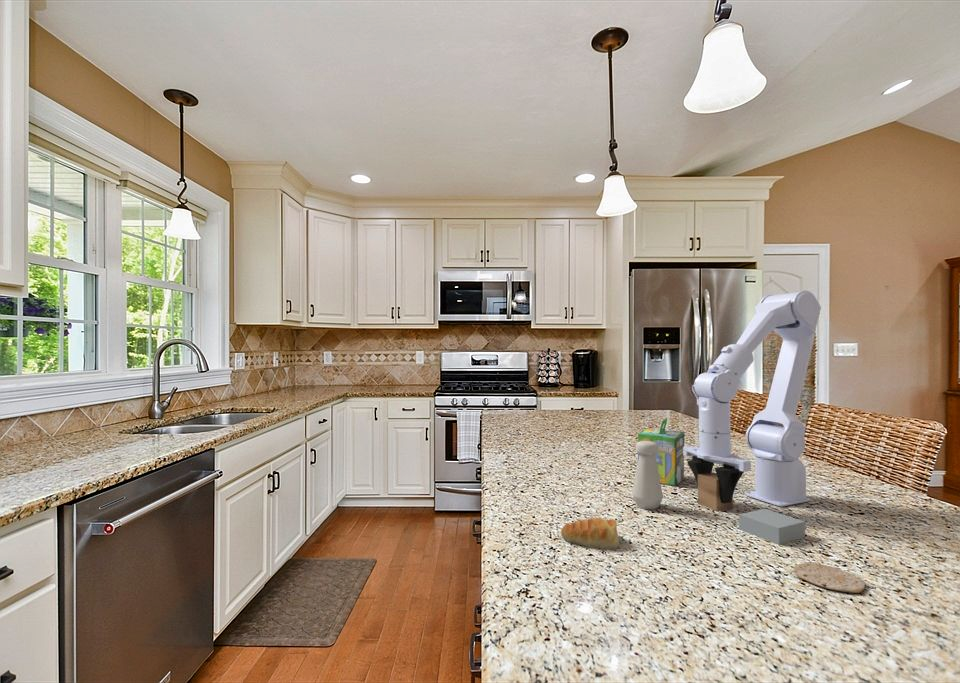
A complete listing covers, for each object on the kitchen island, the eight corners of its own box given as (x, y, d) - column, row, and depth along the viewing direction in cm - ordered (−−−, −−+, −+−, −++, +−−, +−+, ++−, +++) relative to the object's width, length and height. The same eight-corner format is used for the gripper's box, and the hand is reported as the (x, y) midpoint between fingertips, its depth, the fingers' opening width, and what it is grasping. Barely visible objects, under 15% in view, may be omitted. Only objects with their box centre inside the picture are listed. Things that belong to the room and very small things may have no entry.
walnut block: (713, 500, 97) (713, 472, 97) (732, 507, 93) (732, 477, 93) (697, 503, 95) (697, 474, 95) (716, 510, 91) (716, 480, 91)
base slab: (764, 525, 85) (764, 508, 85) (805, 539, 78) (804, 521, 78) (739, 531, 82) (738, 514, 82) (778, 546, 75) (778, 528, 75)
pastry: (561, 547, 75) (561, 523, 75) (561, 531, 81) (560, 509, 82) (621, 551, 73) (621, 527, 73) (616, 535, 80) (616, 513, 80)
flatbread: (782, 573, 66) (782, 566, 66) (814, 563, 69) (814, 557, 69) (846, 601, 59) (846, 593, 59) (879, 589, 62) (879, 581, 62)
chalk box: (647, 472, 120) (647, 414, 120) (685, 478, 114) (685, 417, 114) (636, 480, 112) (636, 419, 112) (676, 487, 107) (676, 422, 107)
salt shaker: (665, 512, 90) (664, 445, 91) (634, 510, 91) (634, 444, 92) (659, 502, 96) (659, 439, 96) (630, 500, 97) (630, 438, 97)
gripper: (672, 427, 99) (672, 490, 99) (731, 439, 86) (732, 512, 86) (696, 425, 102) (697, 486, 102) (758, 436, 89) (759, 507, 89)
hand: (715, 498), depth 94 cm, fingers closed on walnut block, 4 cm apart
